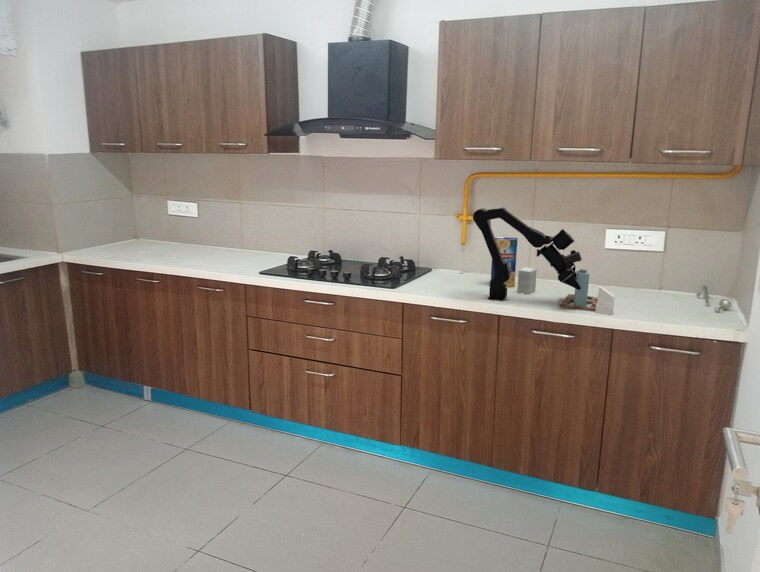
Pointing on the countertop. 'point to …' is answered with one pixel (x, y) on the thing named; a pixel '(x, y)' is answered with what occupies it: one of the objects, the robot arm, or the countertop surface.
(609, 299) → the white wedge bracket
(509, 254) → the beverage box
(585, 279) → the teal tall rectangular block
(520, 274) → the small box
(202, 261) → the countertop surface
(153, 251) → the countertop surface
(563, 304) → the socket board
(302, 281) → the countertop surface
